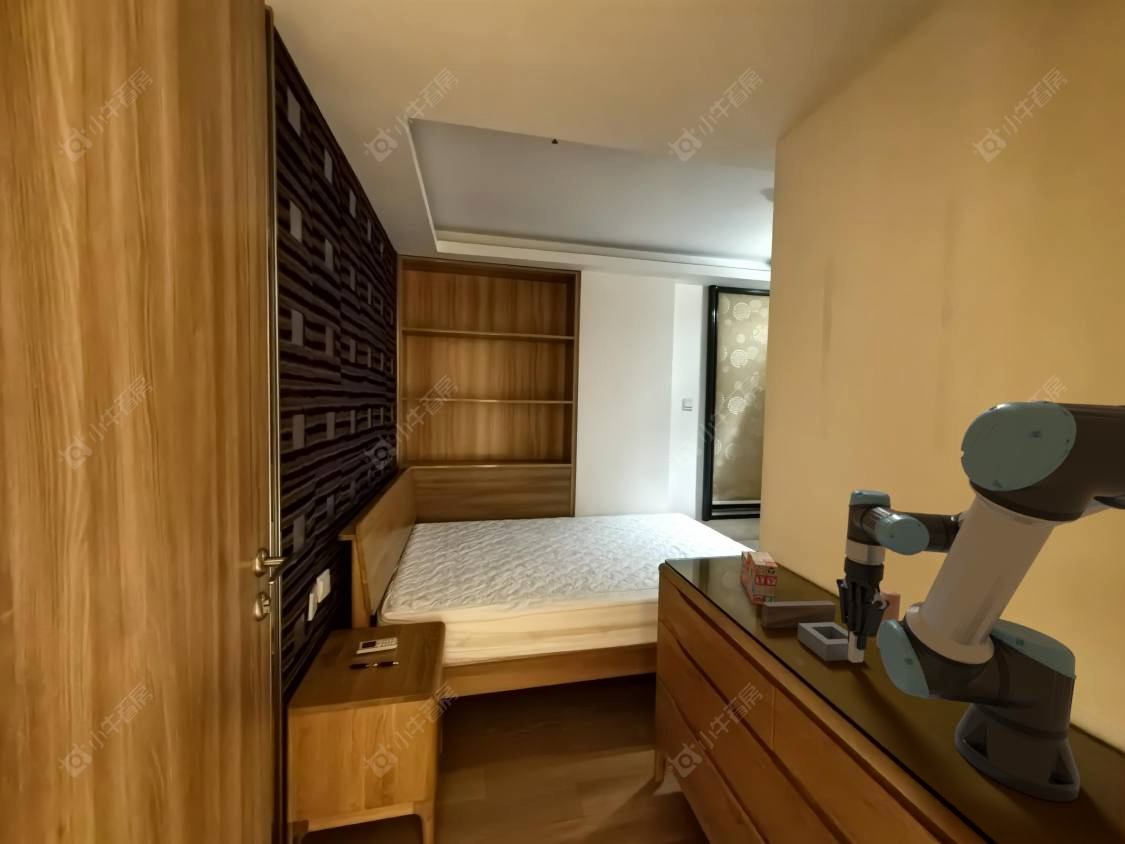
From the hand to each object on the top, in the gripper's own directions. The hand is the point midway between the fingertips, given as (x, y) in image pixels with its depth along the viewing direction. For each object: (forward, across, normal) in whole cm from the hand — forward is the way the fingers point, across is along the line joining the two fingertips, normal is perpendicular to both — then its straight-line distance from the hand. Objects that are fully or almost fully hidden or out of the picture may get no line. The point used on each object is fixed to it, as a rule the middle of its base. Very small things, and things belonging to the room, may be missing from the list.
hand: (855, 660), depth 107 cm
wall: (+2, +20, 0) cm, 20 cm away
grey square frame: (+2, +8, 0) cm, 8 cm away
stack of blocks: (+3, +42, -1) cm, 42 cm away
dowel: (+2, +7, -15) cm, 16 cm away
